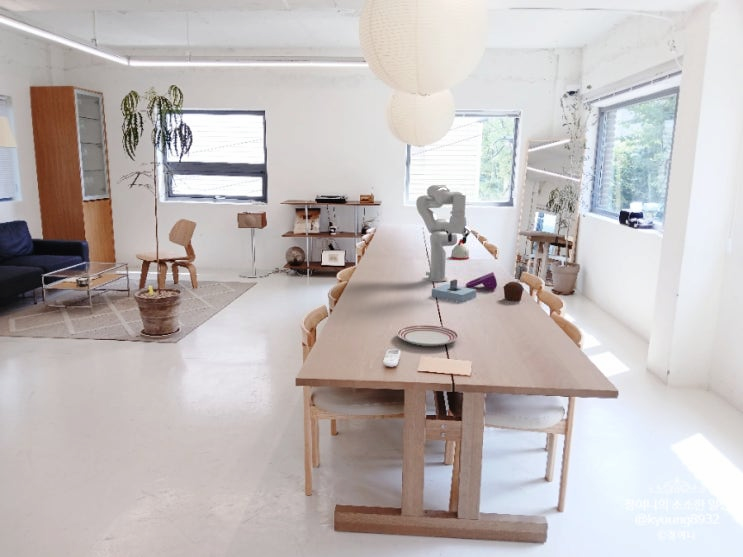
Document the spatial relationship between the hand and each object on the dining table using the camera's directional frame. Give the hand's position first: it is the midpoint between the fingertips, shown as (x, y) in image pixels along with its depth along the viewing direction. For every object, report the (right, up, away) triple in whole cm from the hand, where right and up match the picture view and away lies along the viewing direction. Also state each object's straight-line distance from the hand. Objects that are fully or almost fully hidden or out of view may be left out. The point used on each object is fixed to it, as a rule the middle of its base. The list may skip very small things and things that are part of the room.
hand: (456, 242), depth 332 cm
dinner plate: (-26, -49, -86) cm, 102 cm away
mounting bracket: (+16, -28, +8) cm, 33 cm away
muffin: (+29, -34, -17) cm, 48 cm away
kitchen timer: (+18, -6, +102) cm, 104 cm away
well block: (-4, -32, -13) cm, 35 cm away
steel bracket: (-4, -32, -14) cm, 36 cm away
